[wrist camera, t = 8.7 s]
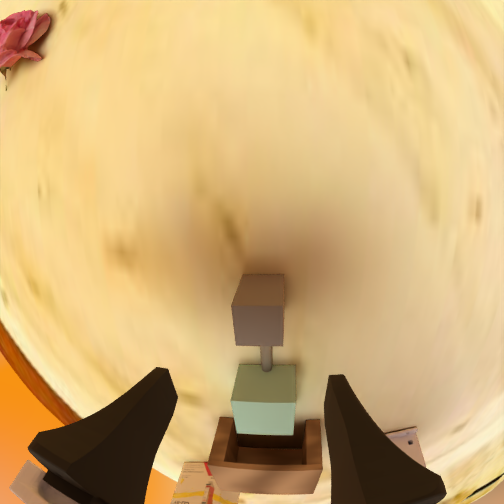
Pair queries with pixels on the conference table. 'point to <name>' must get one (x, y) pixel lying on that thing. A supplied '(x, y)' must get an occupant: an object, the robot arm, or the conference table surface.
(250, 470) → the walnut cubby
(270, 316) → the block with rod
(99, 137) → the conference table surface
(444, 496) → the robot arm
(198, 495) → the ink box
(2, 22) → the flower
